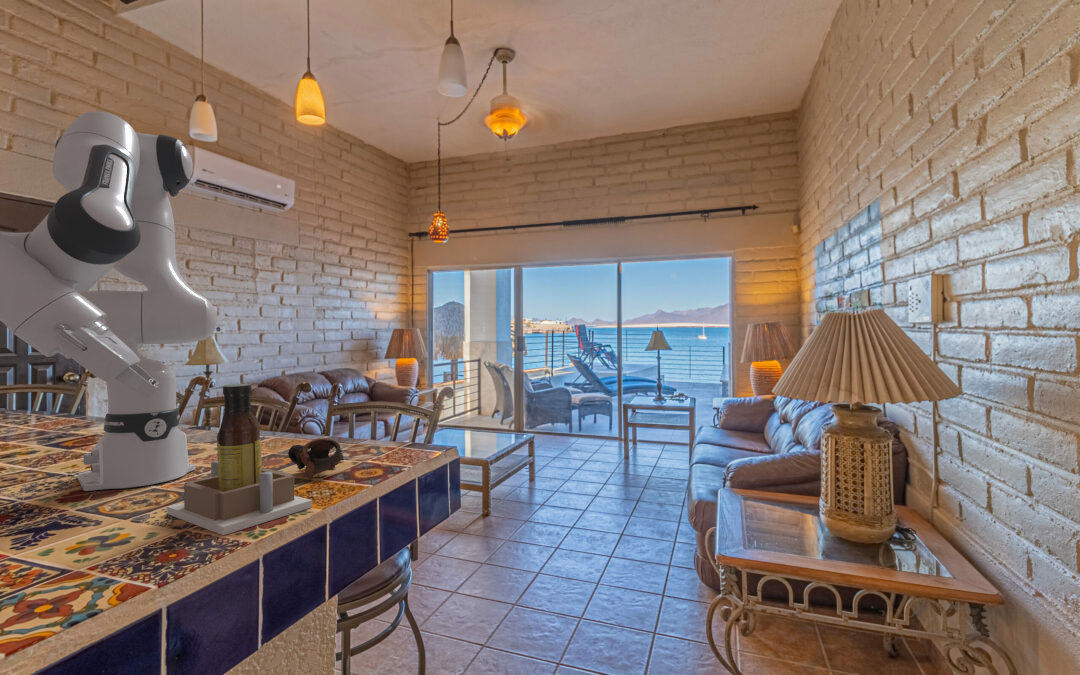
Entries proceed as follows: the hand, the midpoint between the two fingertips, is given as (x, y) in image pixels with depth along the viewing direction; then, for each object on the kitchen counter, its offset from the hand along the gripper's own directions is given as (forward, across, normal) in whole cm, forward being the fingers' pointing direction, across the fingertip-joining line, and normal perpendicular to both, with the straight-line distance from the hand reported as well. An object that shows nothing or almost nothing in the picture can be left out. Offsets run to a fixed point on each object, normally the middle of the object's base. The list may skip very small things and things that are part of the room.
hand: (154, 391), depth 76 cm
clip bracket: (+23, 0, +7) cm, 24 cm away
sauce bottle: (+22, 0, +6) cm, 23 cm away
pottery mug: (+34, +18, -4) cm, 38 cm away
